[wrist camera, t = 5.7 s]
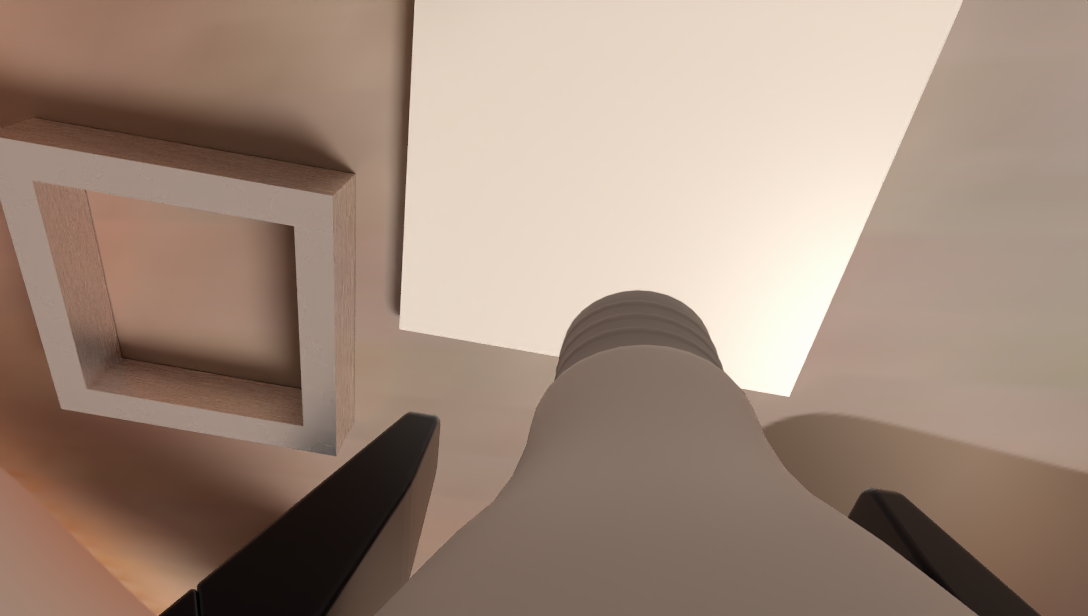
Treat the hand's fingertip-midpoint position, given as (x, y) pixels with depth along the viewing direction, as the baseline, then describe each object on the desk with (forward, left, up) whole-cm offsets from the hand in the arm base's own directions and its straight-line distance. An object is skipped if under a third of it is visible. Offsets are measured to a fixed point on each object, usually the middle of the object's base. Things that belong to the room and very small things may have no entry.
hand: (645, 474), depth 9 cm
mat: (0, 0, -13) cm, 13 cm away
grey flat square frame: (-7, +14, -13) cm, 20 cm away
